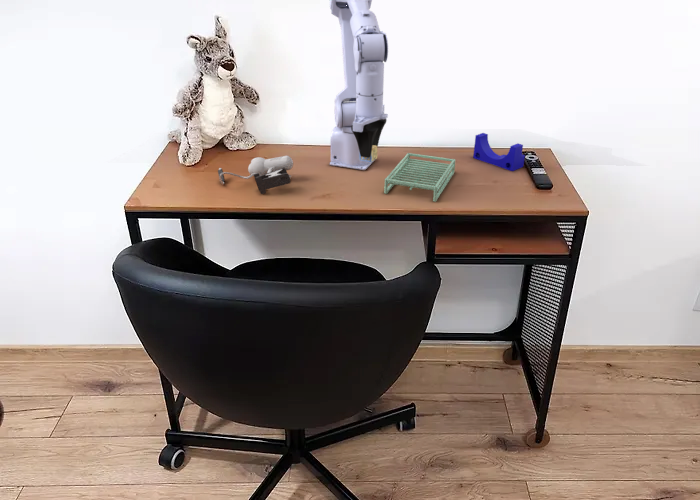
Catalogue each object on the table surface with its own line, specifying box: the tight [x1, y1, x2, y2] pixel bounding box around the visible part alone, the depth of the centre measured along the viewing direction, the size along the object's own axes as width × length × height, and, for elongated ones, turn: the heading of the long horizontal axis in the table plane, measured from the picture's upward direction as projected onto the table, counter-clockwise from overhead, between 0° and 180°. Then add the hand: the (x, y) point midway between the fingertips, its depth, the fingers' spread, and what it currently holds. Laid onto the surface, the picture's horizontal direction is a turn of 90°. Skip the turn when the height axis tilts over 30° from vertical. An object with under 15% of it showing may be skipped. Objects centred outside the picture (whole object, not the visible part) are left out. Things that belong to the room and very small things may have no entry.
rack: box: [383, 152, 456, 203], centre depth 147 cm, size 18×12×4 cm, turn 159°
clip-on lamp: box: [217, 155, 294, 195], centre depth 145 cm, size 12×6×18 cm
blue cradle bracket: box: [473, 132, 526, 172], centre depth 158 cm, size 12×4×6 cm, turn 42°
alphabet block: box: [359, 145, 378, 162], centre depth 140 cm, size 3×3×3 cm
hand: (368, 153), depth 141 cm, fingers closed on alphabet block, 3 cm apart
